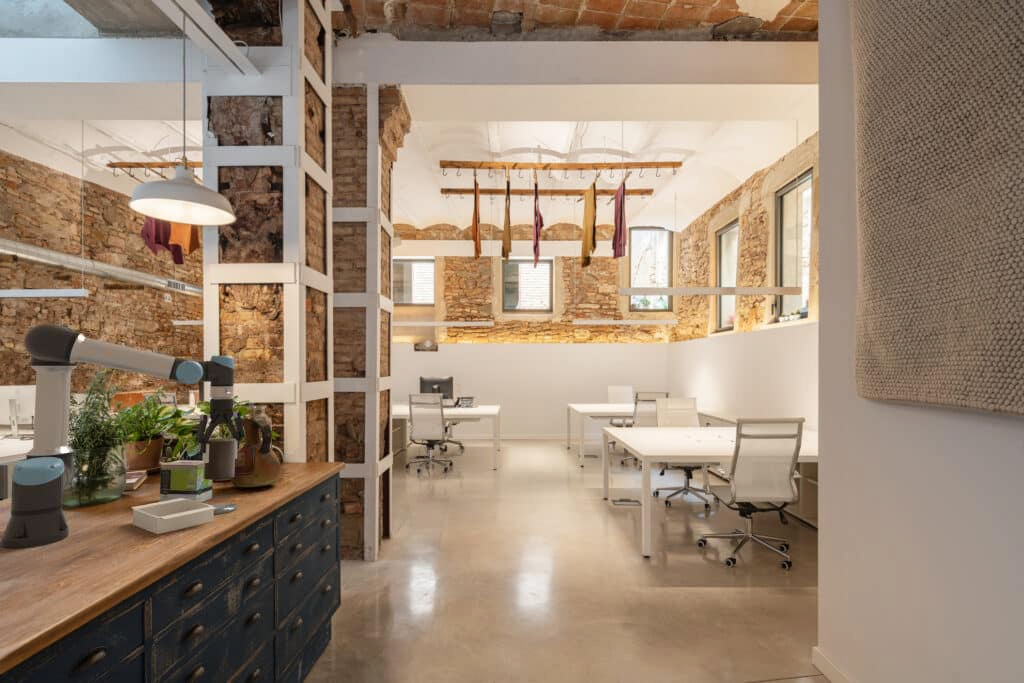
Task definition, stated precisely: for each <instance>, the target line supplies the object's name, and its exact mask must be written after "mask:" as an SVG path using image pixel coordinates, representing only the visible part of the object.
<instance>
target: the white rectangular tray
mask: <svg viewBox="0 0 1024 683" xmlns="http://www.w3.org/2000/svg"><path fill="white" fill-rule="evenodd" d="M130 509H132V525H133V524H134V525H133V526H135V525H136V526H135V527H137V526H138V528H139V529H144V530H145V531H147V532H151V533H153V534H156V535H160V534H163V533H168V532H174V531H178V530H181V529H187V528H191V527H194V526H199V525H203V524H209V523H212V522H214V509H217V508H215V507H214V506H211V504H207V503H204V502H197V501H194V500H190V499H184V498H179V499H173V500H168V501H163V502H160V501H159V502H153V503H147V504H143V505H136V506H132V507H130Z"/></svg>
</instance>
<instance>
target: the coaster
mask: <svg viewBox="0 0 1024 683" xmlns="http://www.w3.org/2000/svg"><path fill="white" fill-rule="evenodd" d="M210 505H211V506H214V507H215V508H217V509H214V515H215V516H216V515H223V514H228V513H231V512H235V511H236V510H237V509H238V505H237V504H236V503H232V502H220V503H219V502H218V503H212V504H210Z"/></svg>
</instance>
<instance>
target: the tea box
mask: <svg viewBox="0 0 1024 683" xmlns="http://www.w3.org/2000/svg"><path fill="white" fill-rule="evenodd" d="M204 468H205V462H203V460H174V461H170V462H167V463H161V464H160V473H159V474H160V478H159V479H160V480H159V502H163V501H168V500H173V499H179V498H184V499H190V500H194V501H197V502H201V503H204V502H206V501H207V500H208V501H209V500H211V499H212V498H213V480H209V479H205V478H204Z"/></svg>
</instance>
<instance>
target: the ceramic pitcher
mask: <svg viewBox="0 0 1024 683" xmlns="http://www.w3.org/2000/svg"><path fill="white" fill-rule="evenodd" d="M241 421H242V426H243V430H244V434H245V442H244V445H243V446H242V447H241V448H239V449H238V450H237V459H235V470H234V477H232V478H230V482H231V485H232V486H234V487H238V488H257V487H265V486H268V485H271V486H272V485H275V484H277V482H278V481H279V480H280V479H281V475H282V467H281V463H280V462H281V461H280V460H279V457H278V456H277V453H276V452H275V451H274V450H273V449H272V448H271V444H272V436H273V434H272V428H271V425H270V423H269V421H267V420H266V418H265V416H261V417H259V416H258V417H257V416H256V417H251V418H241ZM261 436H262V437H261Z"/></svg>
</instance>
